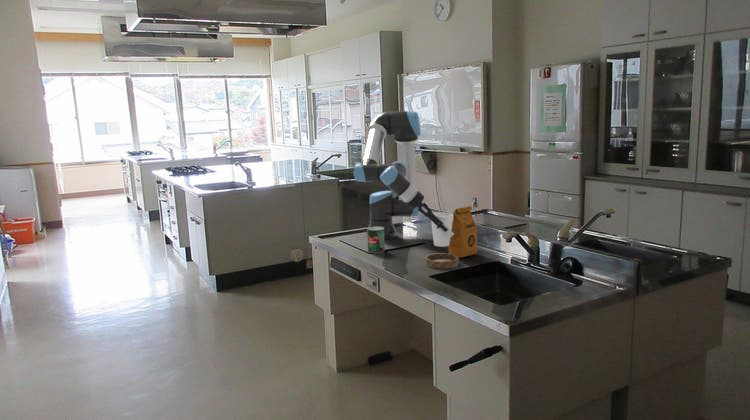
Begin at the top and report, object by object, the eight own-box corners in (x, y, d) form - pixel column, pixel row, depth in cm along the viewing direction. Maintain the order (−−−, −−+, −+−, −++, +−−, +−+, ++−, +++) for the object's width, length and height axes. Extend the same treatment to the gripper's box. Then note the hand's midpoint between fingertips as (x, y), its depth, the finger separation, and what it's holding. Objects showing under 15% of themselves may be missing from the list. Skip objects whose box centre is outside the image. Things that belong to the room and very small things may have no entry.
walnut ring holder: (422, 259, 235) (422, 253, 234) (454, 258, 236) (454, 252, 235) (428, 269, 221) (428, 262, 221) (461, 268, 222) (461, 261, 222)
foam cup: (457, 245, 225) (457, 214, 223) (440, 248, 220) (440, 217, 218) (443, 241, 233) (443, 211, 231) (425, 244, 228) (426, 213, 226)
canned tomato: (385, 249, 254) (385, 226, 252) (383, 253, 247) (383, 230, 245) (369, 248, 256) (368, 226, 254) (366, 253, 248) (365, 229, 246)
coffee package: (480, 255, 241) (481, 206, 237) (462, 260, 234) (462, 210, 229) (463, 250, 249) (464, 203, 245) (445, 255, 241) (445, 207, 237)
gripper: (401, 199, 233) (437, 233, 237) (408, 208, 211) (448, 245, 215) (413, 186, 232) (449, 221, 236) (422, 194, 211) (461, 232, 215)
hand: (449, 233), depth 226 cm, fingers closed on foam cup, 9 cm apart
